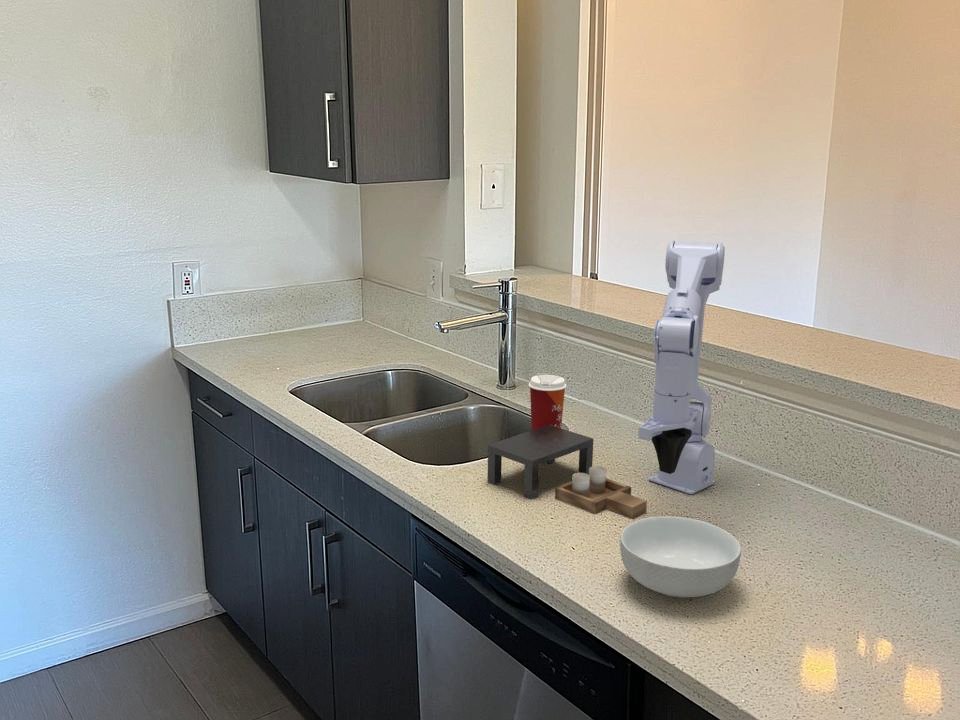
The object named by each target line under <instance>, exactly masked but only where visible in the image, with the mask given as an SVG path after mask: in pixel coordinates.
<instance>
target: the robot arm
mask: <svg viewBox="0 0 960 720" xmlns="http://www.w3.org/2000/svg"><path fill="white" fill-rule="evenodd" d="M725 250H726V249H725V245H724V244H723V242H718V243H715V242H714V243H711V242H691V241H675V240H670V242H669V243H668V244H667V247H666V253H665V264H664V265H665V274H666V279H667V282H668V286H669V288H671V289H672V290H670V291H669V292H668V294H667V295H666V299H665V302H664V306H663V311H662V315H661V318H660V319H656V321H655V323H654V330H653V341H652V342H653V350H654V351H653V352H654V357H653V358H654V360H653V361H654V364H655V372H654V373H655V375H654V389H653V405H652V406H653V408H652V415H651V416H650V417H649V418H648V419H647V420H646V421H645V423H643V424H641V425H639V426H638V439H641V440H644V441H647V442H649V441H651V442H652V444H653V447H654V450H655V452H656V458H657V462H658V473H656V474H654V475H651V476H649V477H648V481H650V482H653V483H655V484H659V485H661V486H662V485H663V486H664V487H668V488H671V489H674V490H676V491H679V492H682V493H686V494H688V495H693V494H696V493H697V492H700V491H702V490H704V489H706V488H708V487H710V486H712V485H714V484H715V483H716V480H714V468H715V456H716V452H715V448H714V445H713V444H712V443H710V442H707V441H706V440H704V439H703V438H706V437H707V436H708V435H709V433H710V427H711V419H712V396H711V394H710V393H709V391H707V390H706V389H705V388H704V387H703V386H702V385H700V384H699V371H700V360H701V352H702V341H703V331H704V329H703V328H704V321H705V310H706V305H707V302H708V299H709V297H710V294H713V293H715V292H718V291H720V287H721V285H722V280H723V273H724V263H725V252H726V251H725ZM691 400H692V401H691ZM693 400H698V401H693ZM702 437H703V438H702Z"/></svg>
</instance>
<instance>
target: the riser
mask: <svg viewBox="0 0 960 720" xmlns="http://www.w3.org/2000/svg"><path fill="white" fill-rule="evenodd" d="M574 452H578V473H586V474H589V468H590V467H593V463H594V462H593V460H594V457H593V455H594V438H593V437H590V436H586V435H583V434H580V433H577V432H573V431H571V430H568V429H564V428H562V427H561V428H558V427H555V426H552V425H546V426H543V427H540V428H537V429H534V430H532V429H531V430H529V431H526V432H523V433H519V434H517V435H516V434H515V435H513V436H511V437H508V438H504V439H501V440H499V441H496V442H493V443H490V444H487V483H490V484H492V485H497V484H500V483H502V464H503V462H502V460H503V459H502V458H506V459H508V460H511V461H514V462H516V463H519V464H522V465H524V477H523V478H524V480H523V481H524V482H523V483H524V487H523V488H524V489H523V497H524V498H526V499H527V498H528V499H529V500H533V499H536V498H538V497H539V490H540V489H539V488H540V486H539V484H540V465H542V464H548V465H550V464H553V463H555V462H556V459H558V458H561V457H564V456H567V455H569V454H572V453H574Z"/></svg>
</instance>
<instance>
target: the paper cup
mask: <svg viewBox="0 0 960 720" xmlns="http://www.w3.org/2000/svg"><path fill="white" fill-rule="evenodd" d="M565 380H566V379H565V378H564V377H562V376H558V375H555V374H554V375H553V374H537V375H534V376H532V377H531V378H530V381H529V383H528V387H529V392H530V393H529V395H530V416H531V417H530V419H531V426H530V427H531V430H534V429H537V428H540V427H543V426H546V425H552V426H555V427H558V428H562V424H563V414H564V413H563V411H564V402H565V390H566V388H567V383H566V381H565Z"/></svg>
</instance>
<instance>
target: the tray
mask: <svg viewBox="0 0 960 720" xmlns="http://www.w3.org/2000/svg"><path fill="white" fill-rule="evenodd" d="M571 476H572V477H571V478H572V480H570V481H568V482H566V483H563V484H561V485H559V486H556V487H555V488H554V489H555V490H554V493H555V494H554V498H555V499H556V500H559V501H562V502H564V503H567V504H569V505H572V506H574V507H577V508H579V509H581V510H584V511H587V512H589V513H591V514H595V515H596V514H598V513H600V512H603V511H605V510H607V511H611V512H614V513H616V514H619V515H622V516H624V517H627V518H630V519H634V518H636V517H638V516H640V515H643V514H644V513H647V504H648V501H647V500H645V499H642V498H640V497H638V496H634V495H632V487H631V486H630V485H627V484H623V483H621V482H617V481H615V480H612V479H610V478H607V468H605V467H603V466H599V465H594V466H593V465H592V467H590V468H589V474H586V473H579V472H574V473H573V474H572V475H571Z"/></svg>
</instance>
